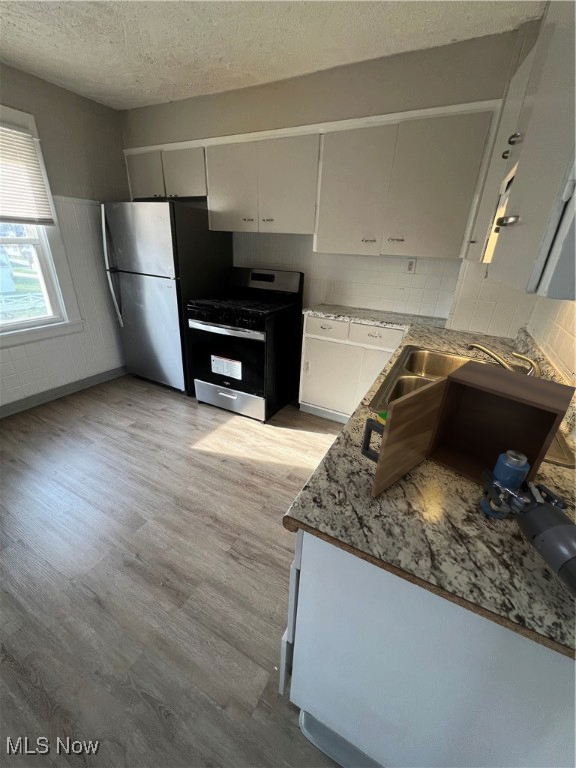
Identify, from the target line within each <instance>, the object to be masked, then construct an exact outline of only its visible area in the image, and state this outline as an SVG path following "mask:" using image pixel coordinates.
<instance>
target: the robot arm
mask: <svg viewBox="0 0 576 768" xmlns="http://www.w3.org/2000/svg"><path fill="white" fill-rule="evenodd" d="M481 477H482V479H483V480H484V481H485V487H483V489H482V491H481V493H482V496H483V495H484V497H485V499H486V501H487V503H488V506H489V508H490V510H491V511H492V512H493V513H495V514H497V513H498V512H499V511H504V512H508V515H509V516H510V517H512V518H513V519H515V521H516V523H517V526H518V529H519V531H520V532H521V533H522V535H523V536H524V538H526V539H527V541H528V542H529V544H530V545H531V546H532V547H533V549H534V550H535V551H536V552H537V553H538V555H539V556H540V557H541V559H542V560H543V561H544V563H545V564H546V565H547V566H548V567H549V569H551V571H553V572H554V573H555V575H556V576H558V578H559V579H560V580H561V582H562V583H563V584H564V585H565V587H566V588H567V589H568V591H569V592H570V593H571V594H572V596H573V597H574V598H575V599H576V523H575V522H574V521H573V519H571V518H570V517H569V516H568V515H567V514H566V512H567V510H568V508H569V507H570V505H569V503H567V502H566V501H565V500H563V499H562V498H561V497H560V496H558V495H557V494H556V493H554V492H553V491H552V490H550V488H548V487H547V486H545V485H544V484H543V483H537V484H535V483H534V482H530V481H528V480H527V479H526V478H525V479H524V481H523V483H522V485H521V488H520V489H523V490H522V492H523V493H519V492H516V491H515V490H514V489H512V488H511V487H509V486H507V487H506V486H504V485H503V484H502V483H500V482H499V481H498V479H497V478H496V477H495V476H494V474H493V473H492V472H491V471H490V470H489V469H486V468H485V469H484V470H483V473H482V475H481ZM498 488H499V489H501V491H502V492H499V491H498V490H497V489H498ZM508 494H510V496H509V498H508V500H507V497H508ZM543 494H545V495H543Z"/></svg>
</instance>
